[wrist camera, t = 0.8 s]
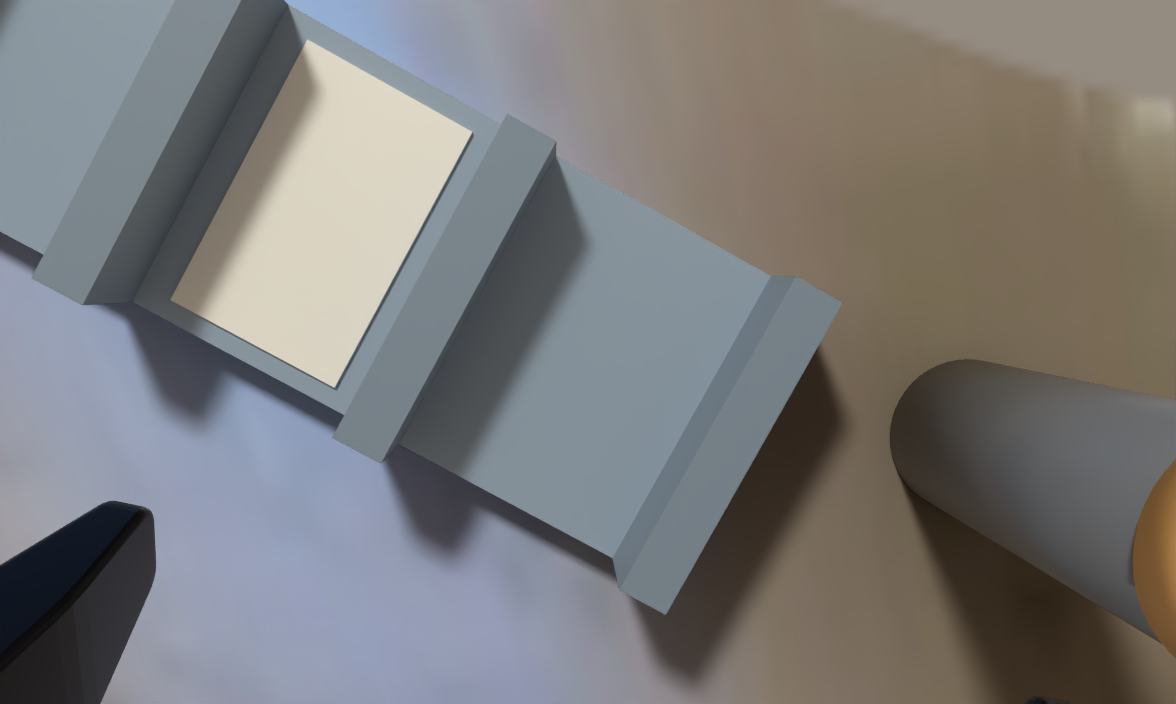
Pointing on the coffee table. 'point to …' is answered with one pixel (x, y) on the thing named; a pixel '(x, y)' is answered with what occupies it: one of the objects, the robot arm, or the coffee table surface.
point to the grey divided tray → (400, 264)
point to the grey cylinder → (1053, 478)
